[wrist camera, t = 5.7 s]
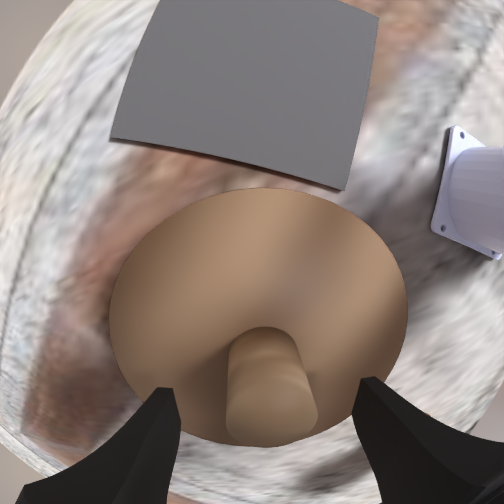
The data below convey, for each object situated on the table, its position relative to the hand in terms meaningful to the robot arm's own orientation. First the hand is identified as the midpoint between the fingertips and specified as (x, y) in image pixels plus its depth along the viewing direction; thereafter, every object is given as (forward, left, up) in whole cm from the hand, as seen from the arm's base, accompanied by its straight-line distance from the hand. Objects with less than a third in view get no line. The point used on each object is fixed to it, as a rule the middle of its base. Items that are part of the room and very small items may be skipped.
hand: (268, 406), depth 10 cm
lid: (0, -1, -3) cm, 3 cm away
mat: (+4, -15, -8) cm, 18 cm away
